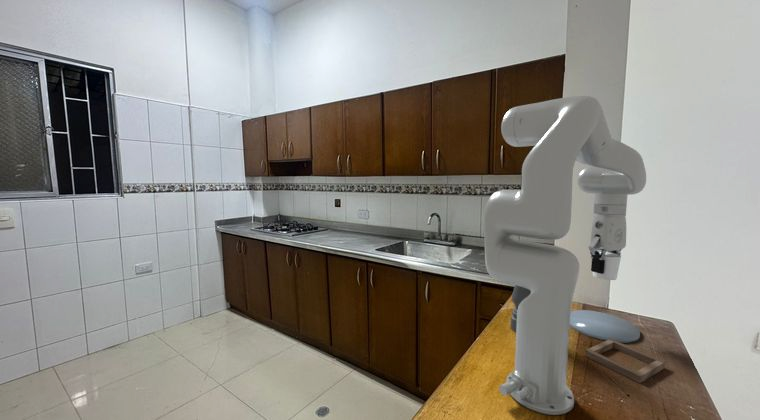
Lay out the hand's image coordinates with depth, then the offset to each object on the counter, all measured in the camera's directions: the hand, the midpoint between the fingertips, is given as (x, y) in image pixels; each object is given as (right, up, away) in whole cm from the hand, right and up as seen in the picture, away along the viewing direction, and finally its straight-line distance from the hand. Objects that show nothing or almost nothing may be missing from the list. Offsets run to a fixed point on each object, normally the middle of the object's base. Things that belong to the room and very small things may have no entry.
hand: (604, 270), depth 90 cm
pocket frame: (-7, -19, -15) cm, 26 cm away
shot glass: (0, -2, 0) cm, 2 cm away
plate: (0, -17, +2) cm, 17 cm away
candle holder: (-24, -18, +1) cm, 30 cm away
